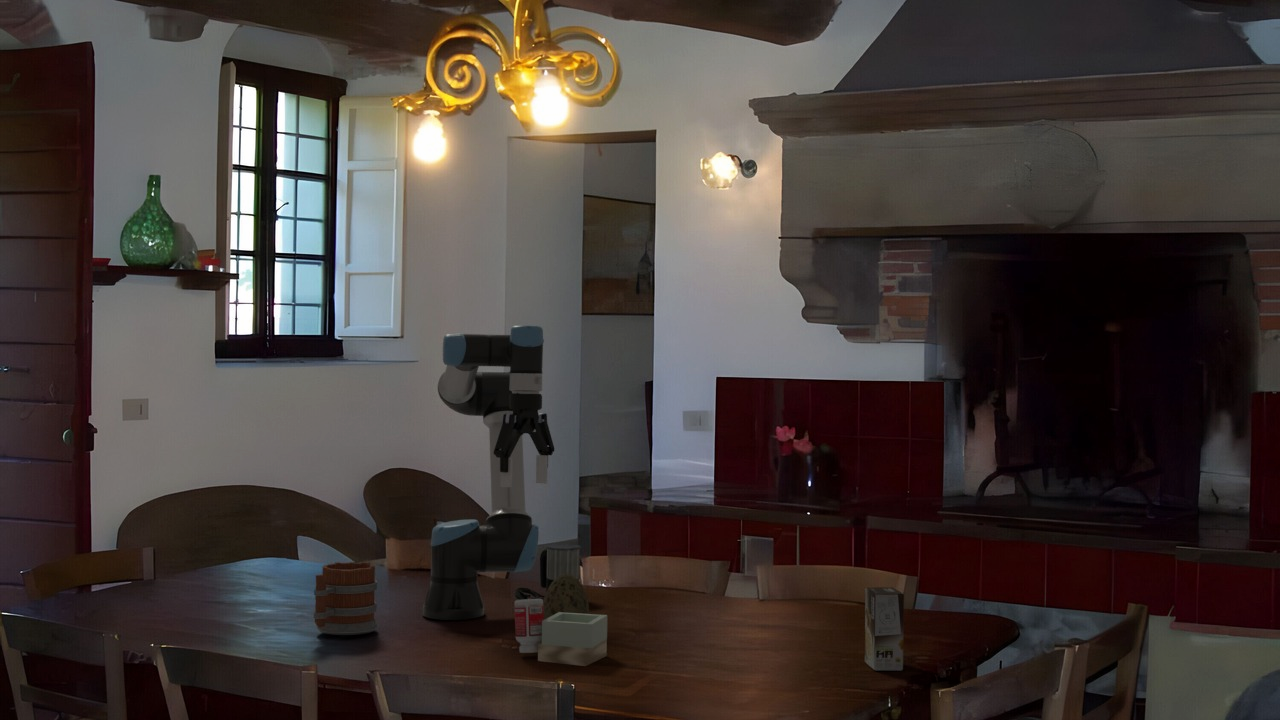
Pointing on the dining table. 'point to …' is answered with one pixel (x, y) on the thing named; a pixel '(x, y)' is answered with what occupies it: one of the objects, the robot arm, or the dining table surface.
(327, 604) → the mug
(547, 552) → the milk frother
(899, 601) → the coffee box
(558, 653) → the tower base
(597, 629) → the tower top
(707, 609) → the dining table surface
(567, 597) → the decorative egg
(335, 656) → the dining table surface
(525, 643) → the pill bottle
